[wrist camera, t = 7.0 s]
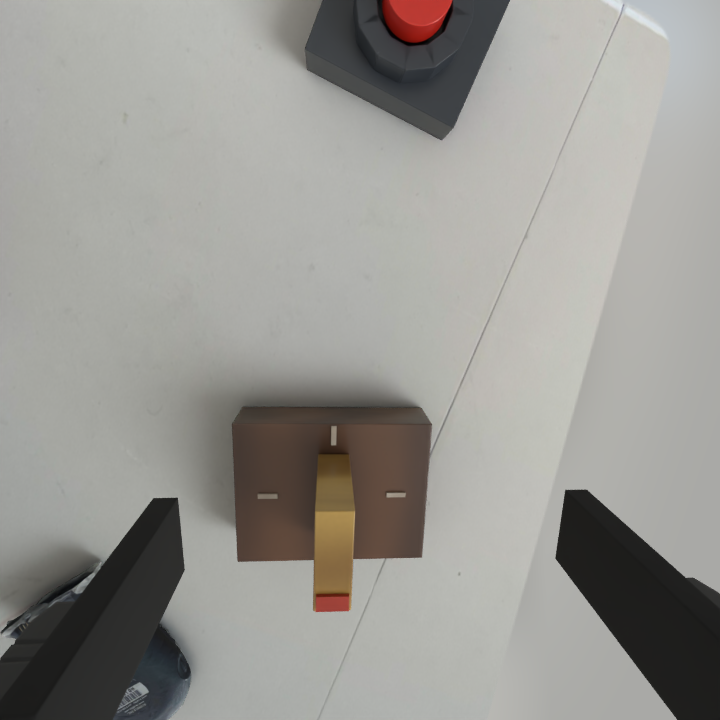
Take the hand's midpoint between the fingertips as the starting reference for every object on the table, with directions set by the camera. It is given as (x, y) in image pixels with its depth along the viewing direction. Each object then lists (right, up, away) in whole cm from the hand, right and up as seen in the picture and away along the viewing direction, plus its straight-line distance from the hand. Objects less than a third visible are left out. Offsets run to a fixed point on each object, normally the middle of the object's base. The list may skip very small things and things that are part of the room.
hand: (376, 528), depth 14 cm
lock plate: (-3, -3, +19) cm, 20 cm away
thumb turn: (-3, -4, +16) cm, 17 cm away
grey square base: (+2, +26, +13) cm, 29 cm away
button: (+2, +25, +9) cm, 27 cm away
